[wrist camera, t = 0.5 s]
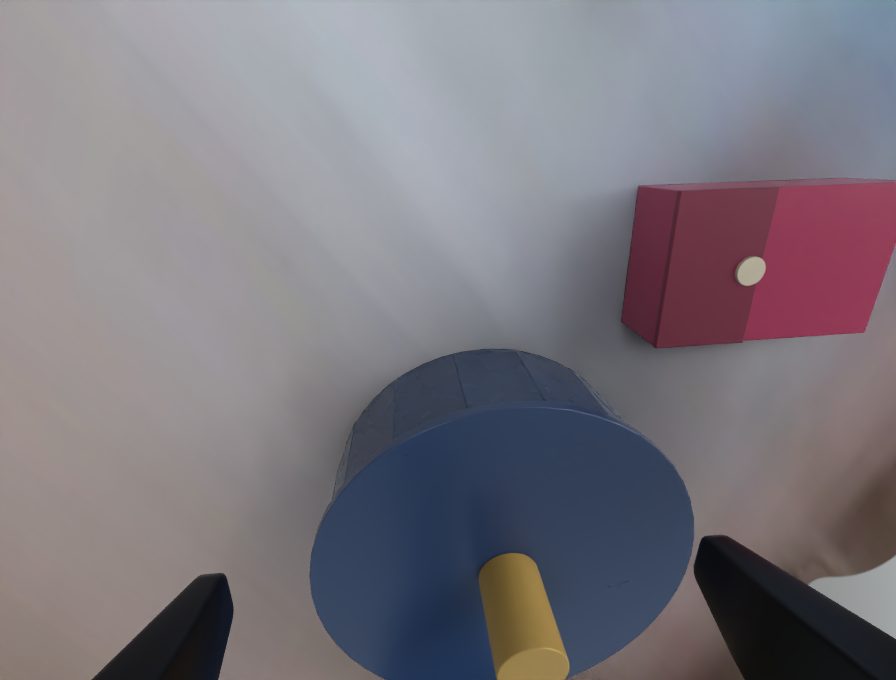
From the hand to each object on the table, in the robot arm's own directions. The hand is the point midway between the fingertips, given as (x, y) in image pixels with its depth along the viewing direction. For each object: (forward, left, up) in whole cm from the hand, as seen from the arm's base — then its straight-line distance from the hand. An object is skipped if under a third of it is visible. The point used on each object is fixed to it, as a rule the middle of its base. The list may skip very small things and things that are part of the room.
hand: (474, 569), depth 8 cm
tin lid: (-10, -3, -8) cm, 13 cm away
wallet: (+3, -15, -14) cm, 20 cm away
